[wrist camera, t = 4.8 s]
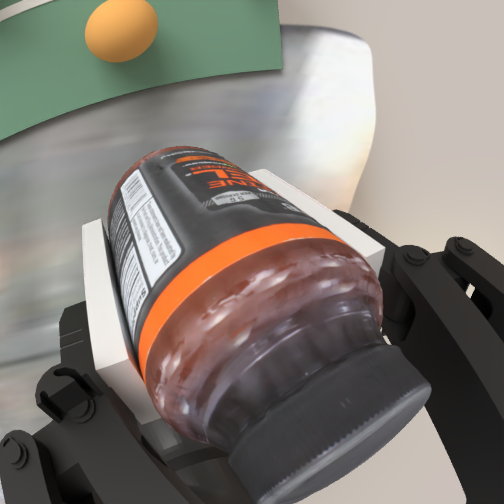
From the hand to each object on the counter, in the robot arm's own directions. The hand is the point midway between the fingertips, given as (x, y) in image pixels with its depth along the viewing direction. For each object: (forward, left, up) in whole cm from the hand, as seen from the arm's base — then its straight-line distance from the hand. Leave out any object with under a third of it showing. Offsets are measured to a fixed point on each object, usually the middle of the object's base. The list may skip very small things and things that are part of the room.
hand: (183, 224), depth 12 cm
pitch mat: (+16, 0, -10) cm, 19 cm away
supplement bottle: (0, 0, -1) cm, 1 cm away
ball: (+9, 0, -9) cm, 13 cm away
